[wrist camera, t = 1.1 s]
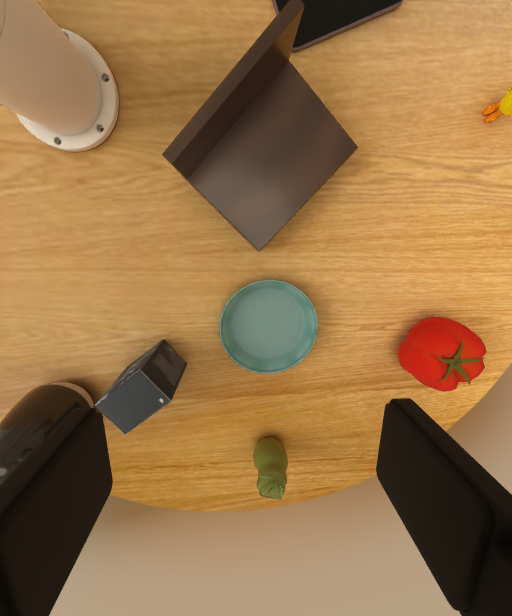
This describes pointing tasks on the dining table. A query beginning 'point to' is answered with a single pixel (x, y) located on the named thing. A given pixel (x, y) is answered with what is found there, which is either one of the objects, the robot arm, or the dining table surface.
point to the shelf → (262, 138)
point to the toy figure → (500, 108)
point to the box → (143, 387)
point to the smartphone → (333, 17)
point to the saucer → (268, 326)
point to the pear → (271, 468)
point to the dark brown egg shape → (36, 421)
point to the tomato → (442, 353)
